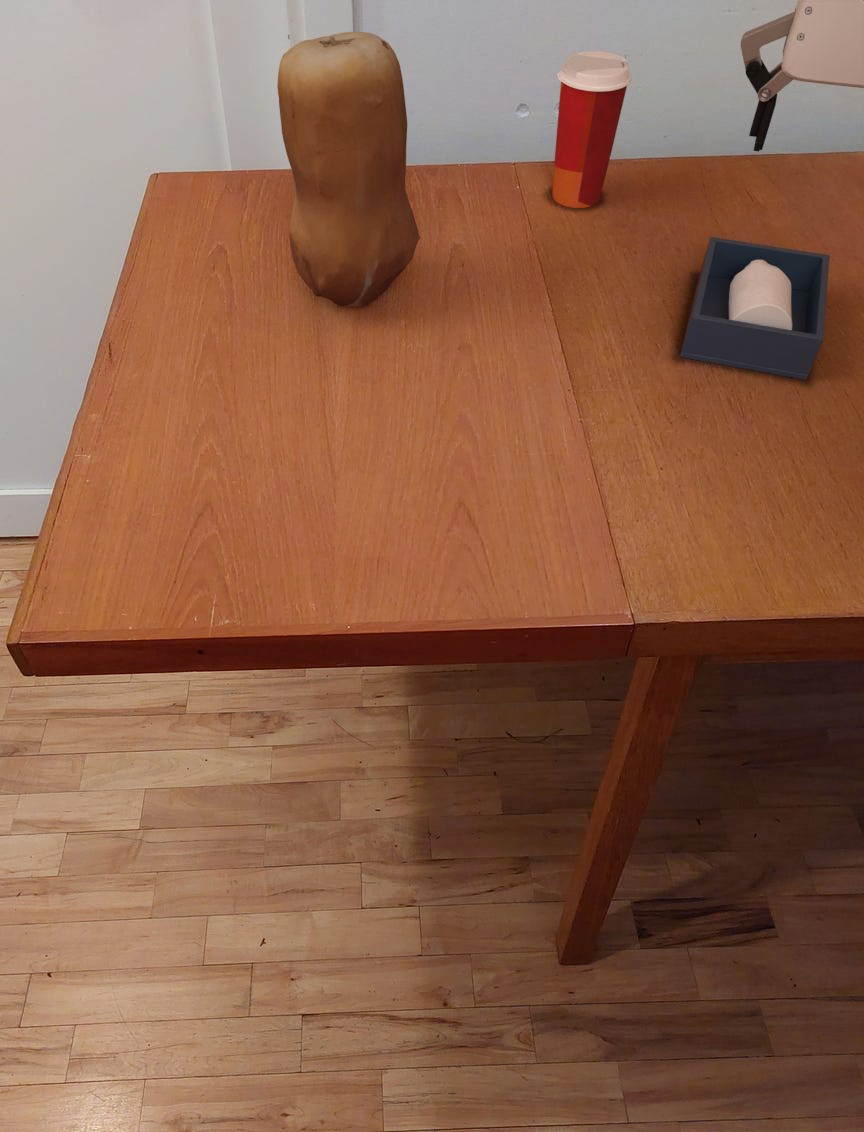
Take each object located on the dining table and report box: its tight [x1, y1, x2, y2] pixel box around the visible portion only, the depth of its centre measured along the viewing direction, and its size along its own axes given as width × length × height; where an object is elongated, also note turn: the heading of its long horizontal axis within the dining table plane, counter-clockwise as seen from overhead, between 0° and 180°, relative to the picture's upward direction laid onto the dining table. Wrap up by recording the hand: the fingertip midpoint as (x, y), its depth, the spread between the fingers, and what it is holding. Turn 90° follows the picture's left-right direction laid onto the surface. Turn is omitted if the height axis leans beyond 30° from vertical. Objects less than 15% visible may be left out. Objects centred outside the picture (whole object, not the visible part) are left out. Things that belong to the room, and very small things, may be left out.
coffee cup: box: [552, 50, 633, 209], centre depth 106 cm, size 8×8×15 cm
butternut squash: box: [276, 31, 421, 308], centre depth 89 cm, size 14×13×25 cm
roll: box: [729, 260, 792, 330], centre depth 92 cm, size 6×12×6 cm, turn 166°
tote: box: [679, 236, 831, 381], centre depth 93 cm, size 16×12×5 cm
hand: (813, 152), depth 80 cm, fingers open, 9 cm apart
